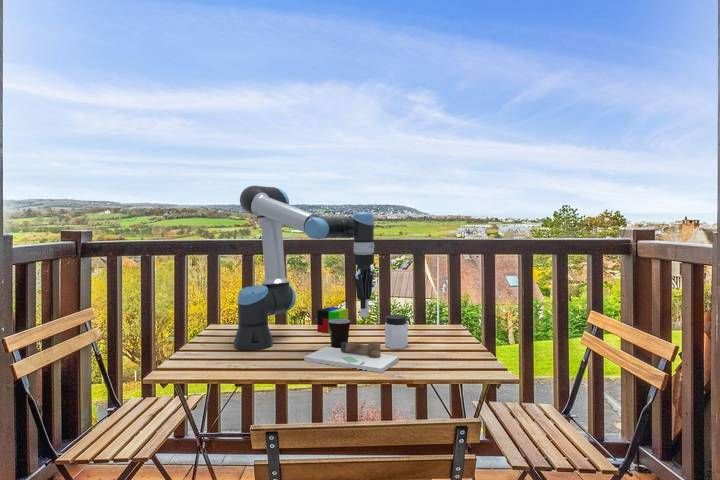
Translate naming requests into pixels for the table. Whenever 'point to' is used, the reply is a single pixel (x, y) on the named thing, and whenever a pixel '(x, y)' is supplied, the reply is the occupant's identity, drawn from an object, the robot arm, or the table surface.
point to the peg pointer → (362, 348)
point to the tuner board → (352, 359)
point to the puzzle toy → (329, 317)
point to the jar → (396, 332)
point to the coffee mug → (339, 331)
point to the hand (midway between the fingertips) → (364, 316)
